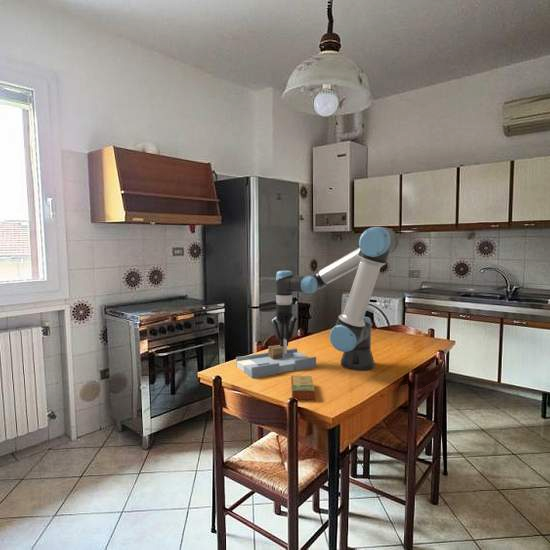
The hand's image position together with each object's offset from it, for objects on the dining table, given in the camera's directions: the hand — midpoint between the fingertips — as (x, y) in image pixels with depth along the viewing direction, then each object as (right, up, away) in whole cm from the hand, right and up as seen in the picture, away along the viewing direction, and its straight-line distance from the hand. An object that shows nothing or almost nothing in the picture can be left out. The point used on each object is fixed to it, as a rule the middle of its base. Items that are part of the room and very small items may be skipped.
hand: (284, 353), depth 189 cm
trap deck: (-4, -5, -6) cm, 9 cm away
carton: (+6, -8, -38) cm, 39 cm away
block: (-4, -2, -2) cm, 5 cm away
